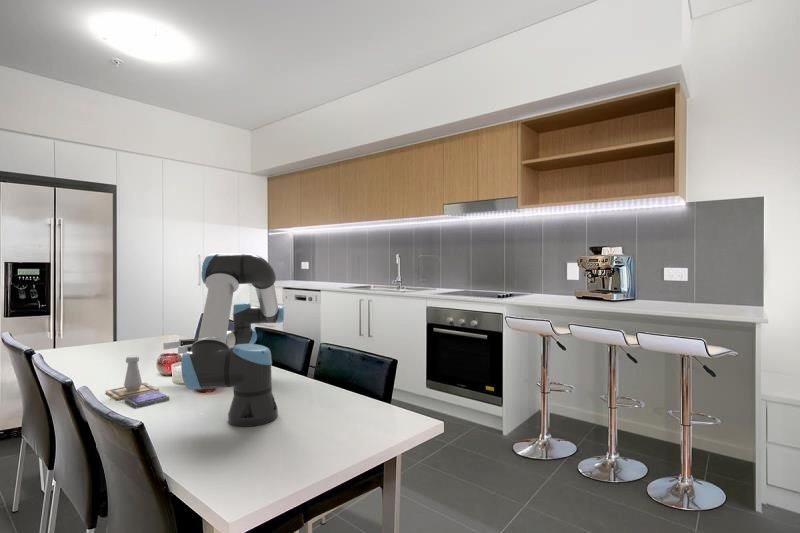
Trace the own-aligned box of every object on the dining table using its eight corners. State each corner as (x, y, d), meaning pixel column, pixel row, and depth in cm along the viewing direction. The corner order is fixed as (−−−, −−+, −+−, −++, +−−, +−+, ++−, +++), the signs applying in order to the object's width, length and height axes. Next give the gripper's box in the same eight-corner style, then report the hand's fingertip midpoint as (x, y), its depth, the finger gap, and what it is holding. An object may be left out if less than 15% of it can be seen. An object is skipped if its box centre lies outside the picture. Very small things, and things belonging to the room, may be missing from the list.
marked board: (159, 391, 170) (159, 388, 170) (117, 400, 160) (117, 397, 160) (145, 384, 180) (145, 381, 180) (105, 392, 169) (105, 390, 169)
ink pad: (169, 399, 160) (169, 395, 160) (135, 407, 152) (135, 403, 152) (157, 393, 168) (157, 389, 168) (124, 401, 159) (124, 396, 159)
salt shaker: (135, 392, 167) (134, 358, 166) (120, 392, 167) (119, 358, 167) (145, 387, 173) (144, 354, 172) (130, 387, 173) (130, 354, 173)
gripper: (236, 352, 184) (184, 361, 168) (208, 346, 200) (158, 353, 184) (236, 334, 184) (184, 342, 168) (207, 329, 200) (158, 335, 184)
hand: (170, 348), depth 176 cm, fingers open, 13 cm apart
